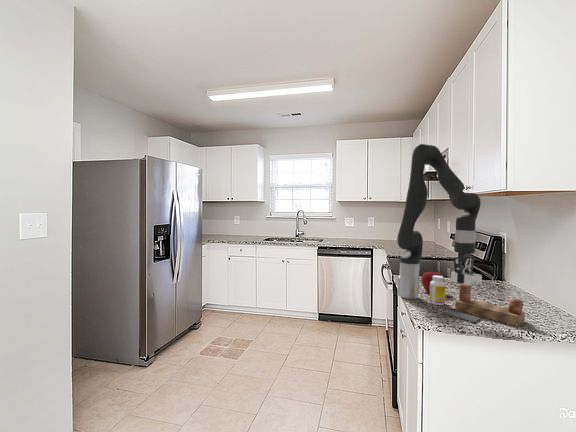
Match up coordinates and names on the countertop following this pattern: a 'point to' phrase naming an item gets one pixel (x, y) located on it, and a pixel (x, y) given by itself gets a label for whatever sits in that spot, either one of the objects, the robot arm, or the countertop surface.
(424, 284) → the apple
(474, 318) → the rubber mat
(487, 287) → the countertop surface
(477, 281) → the lever cap
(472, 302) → the plane body
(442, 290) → the supplement bottle
